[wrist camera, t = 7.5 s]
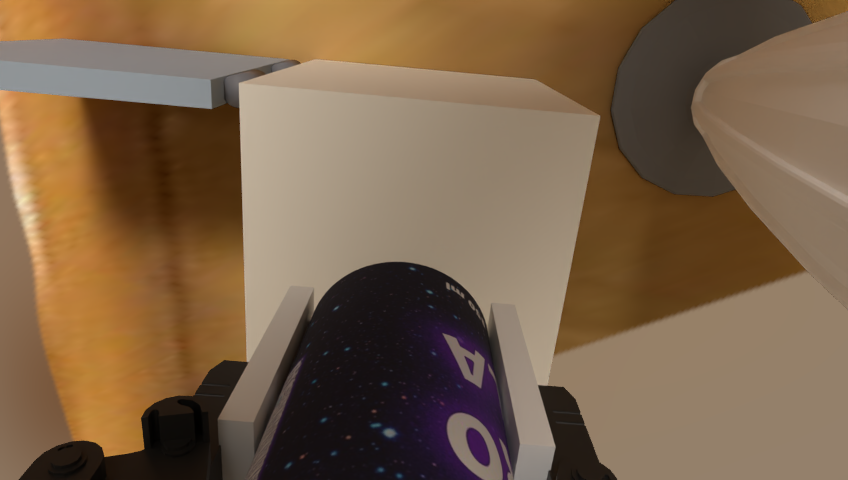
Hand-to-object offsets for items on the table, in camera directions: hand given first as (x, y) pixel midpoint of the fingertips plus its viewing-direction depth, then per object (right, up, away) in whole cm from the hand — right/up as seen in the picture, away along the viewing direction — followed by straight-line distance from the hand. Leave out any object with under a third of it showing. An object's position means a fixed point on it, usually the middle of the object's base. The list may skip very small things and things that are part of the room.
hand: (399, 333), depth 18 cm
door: (-12, +13, +12) cm, 21 cm away
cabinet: (0, +6, +15) cm, 16 cm away
